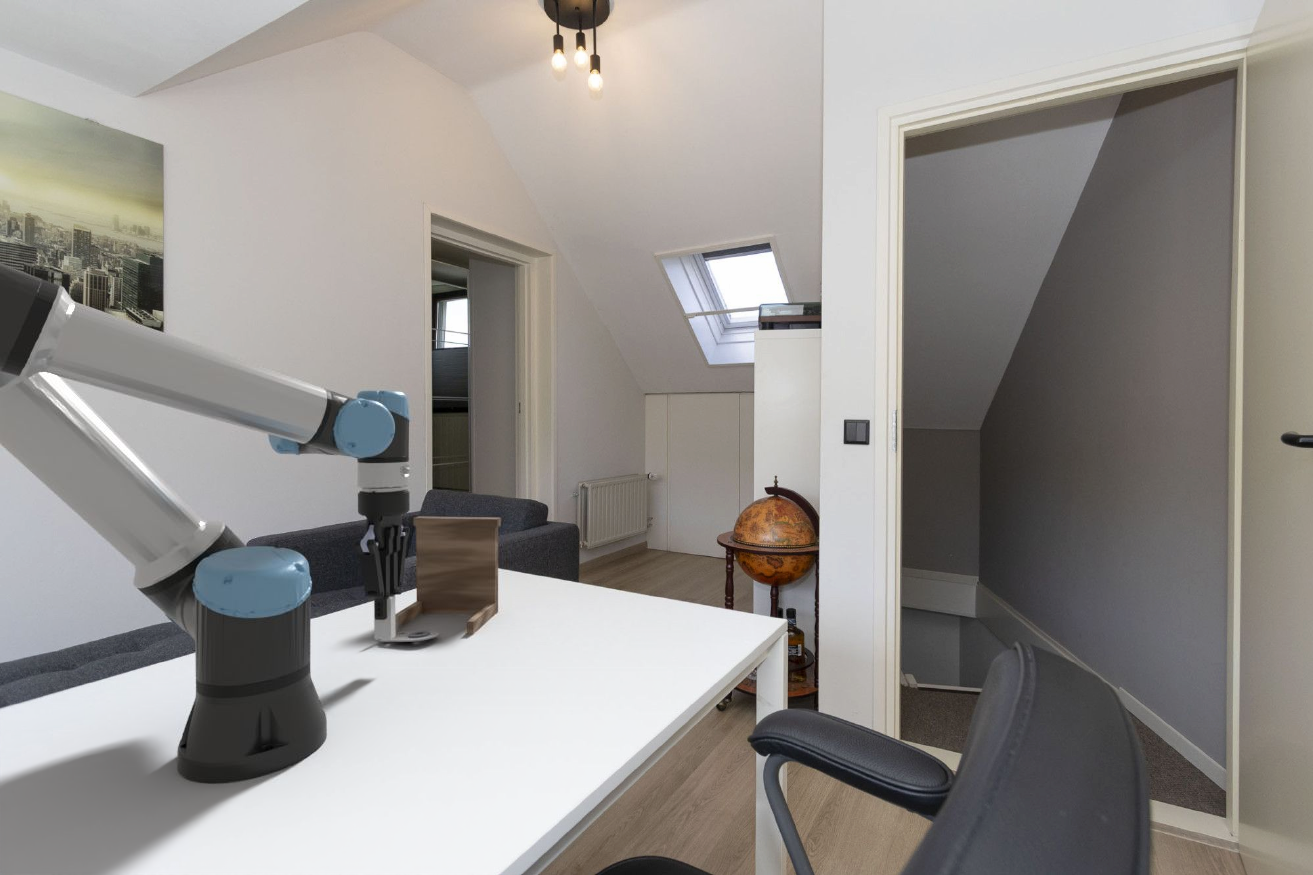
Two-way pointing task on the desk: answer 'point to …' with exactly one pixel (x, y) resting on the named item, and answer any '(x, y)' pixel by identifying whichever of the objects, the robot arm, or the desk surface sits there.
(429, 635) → the bracket
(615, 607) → the desk surface
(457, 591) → the wooden l-shaped stand
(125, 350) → the robot arm
